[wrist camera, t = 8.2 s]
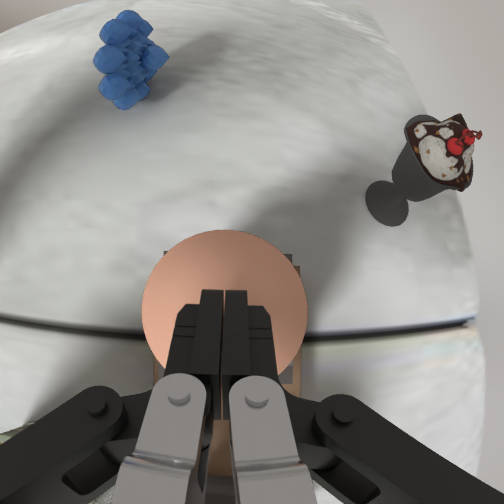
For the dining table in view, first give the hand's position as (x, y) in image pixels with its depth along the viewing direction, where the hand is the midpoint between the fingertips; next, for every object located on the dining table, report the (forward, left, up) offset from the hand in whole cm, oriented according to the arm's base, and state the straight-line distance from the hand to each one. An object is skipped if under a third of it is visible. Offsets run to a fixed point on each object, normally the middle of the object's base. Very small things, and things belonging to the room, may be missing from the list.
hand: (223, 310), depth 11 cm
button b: (0, 0, -9) cm, 9 cm away
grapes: (-18, +19, -15) cm, 30 cm away
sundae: (+10, +16, -15) cm, 24 cm away
